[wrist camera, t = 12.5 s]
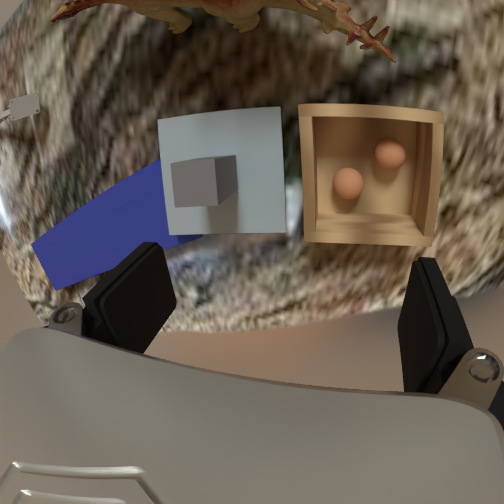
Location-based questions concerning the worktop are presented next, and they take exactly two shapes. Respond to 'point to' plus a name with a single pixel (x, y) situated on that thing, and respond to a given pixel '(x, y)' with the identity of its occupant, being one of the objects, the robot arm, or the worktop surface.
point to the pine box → (370, 174)
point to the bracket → (21, 107)
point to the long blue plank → (108, 229)
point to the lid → (224, 172)
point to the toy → (245, 15)
